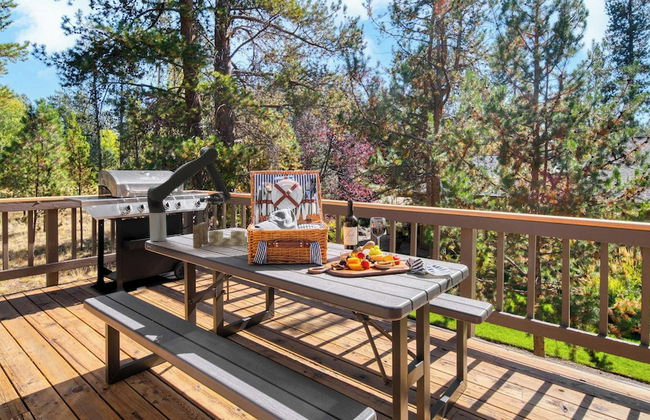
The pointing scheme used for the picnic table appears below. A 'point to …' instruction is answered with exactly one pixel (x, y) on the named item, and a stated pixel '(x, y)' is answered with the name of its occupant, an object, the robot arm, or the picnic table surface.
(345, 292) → the picnic table surface
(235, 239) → the birch board
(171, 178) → the robot arm
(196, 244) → the brown wooden slab
